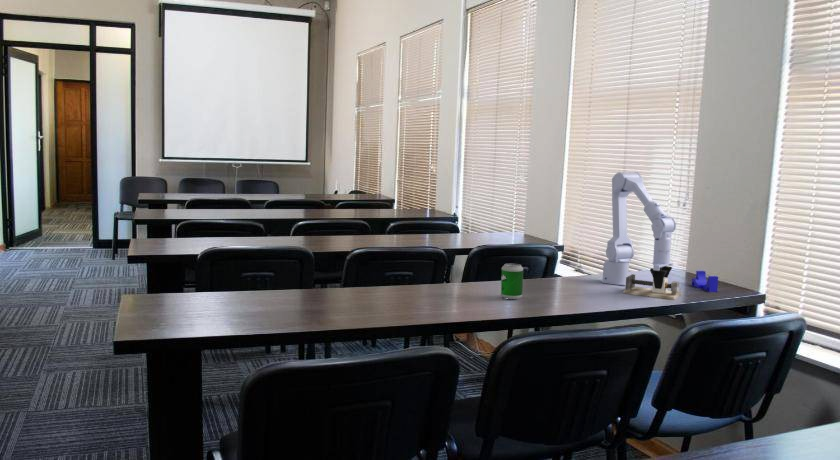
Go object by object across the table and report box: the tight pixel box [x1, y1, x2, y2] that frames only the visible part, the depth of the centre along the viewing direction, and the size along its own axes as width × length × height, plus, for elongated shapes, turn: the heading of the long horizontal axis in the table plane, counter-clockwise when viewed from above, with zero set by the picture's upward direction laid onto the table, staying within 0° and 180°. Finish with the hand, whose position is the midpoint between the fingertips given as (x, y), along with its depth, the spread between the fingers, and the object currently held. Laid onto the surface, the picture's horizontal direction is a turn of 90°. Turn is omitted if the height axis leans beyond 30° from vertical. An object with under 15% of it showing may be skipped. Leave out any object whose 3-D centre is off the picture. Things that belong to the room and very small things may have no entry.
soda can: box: [500, 263, 524, 300], centre depth 231 cm, size 8×8×12 cm
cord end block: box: [652, 277, 669, 293], centre depth 239 cm, size 4×5×5 cm
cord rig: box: [623, 273, 681, 301], centre depth 240 cm, size 18×10×6 cm, turn 56°
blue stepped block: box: [691, 270, 719, 293], centre depth 251 cm, size 12×4×6 cm, turn 1°
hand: (660, 287), depth 239 cm, fingers closed on cord end block, 5 cm apart
